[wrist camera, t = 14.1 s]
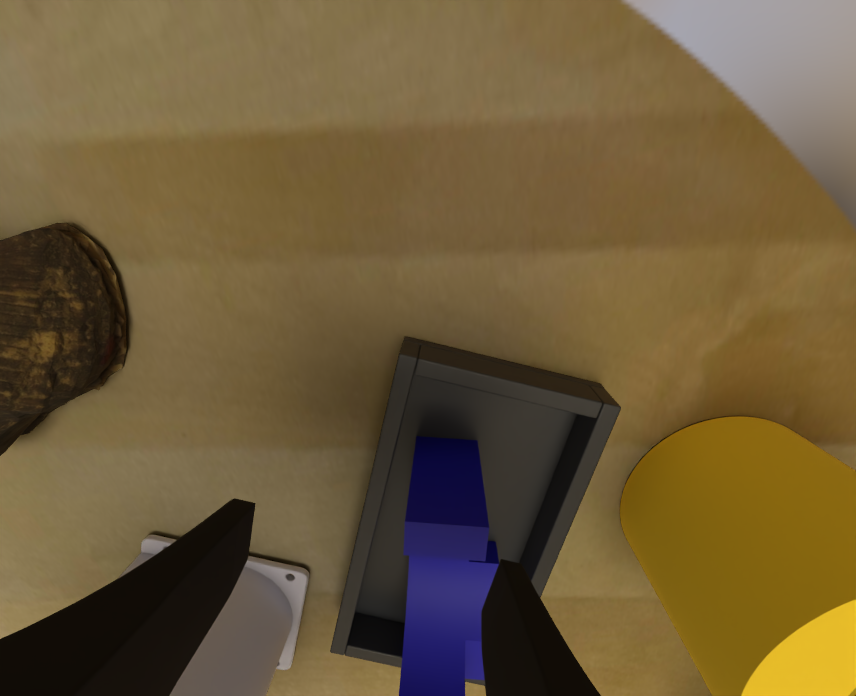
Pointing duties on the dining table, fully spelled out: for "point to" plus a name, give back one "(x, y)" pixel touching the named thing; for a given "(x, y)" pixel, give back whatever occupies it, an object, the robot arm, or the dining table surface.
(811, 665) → the yellow toilet paper roll
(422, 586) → the blue piece
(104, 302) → the seashell
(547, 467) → the holder
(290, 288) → the dining table surface
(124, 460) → the dining table surface
